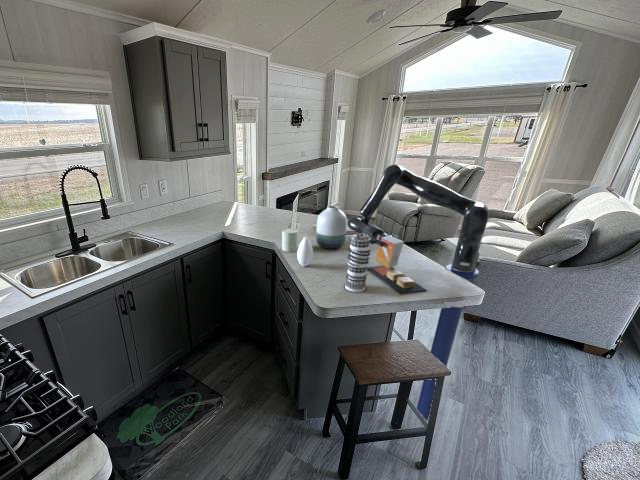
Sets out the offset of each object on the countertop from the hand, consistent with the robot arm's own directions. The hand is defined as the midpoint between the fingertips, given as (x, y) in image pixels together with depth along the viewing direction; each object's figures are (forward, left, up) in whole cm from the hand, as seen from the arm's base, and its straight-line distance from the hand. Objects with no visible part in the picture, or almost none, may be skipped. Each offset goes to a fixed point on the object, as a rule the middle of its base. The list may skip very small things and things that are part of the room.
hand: (391, 244), depth 154 cm
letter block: (0, +14, -15) cm, 21 cm away
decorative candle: (+22, +10, -15) cm, 29 cm away
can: (+35, -45, -15) cm, 59 cm away
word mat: (0, +6, -15) cm, 16 cm away
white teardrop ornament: (+35, -19, -15) cm, 43 cm away
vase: (+10, -44, -15) cm, 48 cm away
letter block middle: (0, +6, -15) cm, 16 cm away
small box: (0, -2, -11) cm, 11 cm away
